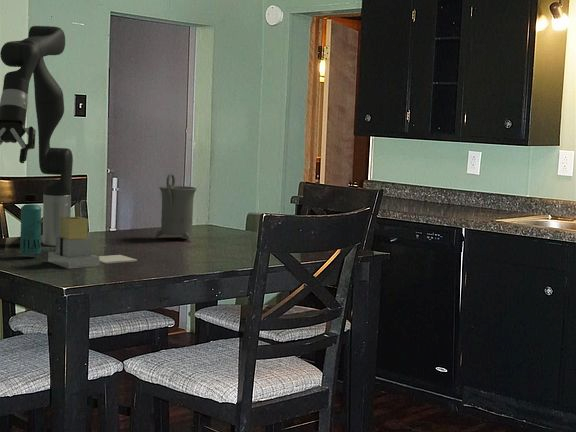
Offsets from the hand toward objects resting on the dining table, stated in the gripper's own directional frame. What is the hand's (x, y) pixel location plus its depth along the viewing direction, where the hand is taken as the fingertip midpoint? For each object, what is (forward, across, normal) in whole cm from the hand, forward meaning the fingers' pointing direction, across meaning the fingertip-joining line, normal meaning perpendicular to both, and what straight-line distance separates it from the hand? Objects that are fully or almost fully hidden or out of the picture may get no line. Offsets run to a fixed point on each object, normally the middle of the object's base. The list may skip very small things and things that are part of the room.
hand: (6, 162), depth 260 cm
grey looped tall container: (+2, -32, -89) cm, 95 cm away
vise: (+23, -14, -28) cm, 39 cm away
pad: (+20, -23, -38) cm, 49 cm away
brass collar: (+16, -14, -25) cm, 32 cm away
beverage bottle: (+21, +2, -35) cm, 40 cm away
